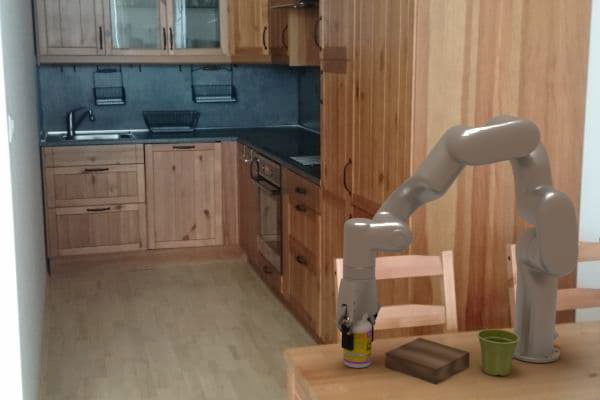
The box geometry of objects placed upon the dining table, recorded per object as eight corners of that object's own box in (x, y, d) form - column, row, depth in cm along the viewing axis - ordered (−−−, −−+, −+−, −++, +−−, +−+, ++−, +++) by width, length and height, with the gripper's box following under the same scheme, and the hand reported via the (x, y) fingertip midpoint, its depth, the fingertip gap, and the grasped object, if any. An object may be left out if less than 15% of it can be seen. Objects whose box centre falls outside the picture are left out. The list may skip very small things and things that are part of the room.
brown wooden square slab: (419, 351, 187) (419, 337, 186) (469, 366, 177) (469, 352, 177) (385, 366, 177) (385, 352, 176) (435, 384, 167) (436, 369, 167)
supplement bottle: (369, 370, 175) (370, 317, 173) (341, 367, 176) (342, 315, 174) (372, 359, 181) (373, 308, 179) (345, 357, 183) (346, 306, 180)
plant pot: (489, 360, 181) (491, 325, 180) (524, 371, 175) (527, 335, 173) (467, 371, 175) (469, 335, 173) (503, 383, 168) (505, 346, 167)
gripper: (369, 262, 184) (367, 332, 187) (322, 275, 171) (321, 350, 174) (394, 267, 178) (392, 339, 182) (347, 282, 166) (346, 359, 169)
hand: (357, 344), depth 178 cm, fingers closed on supplement bottle, 6 cm apart
